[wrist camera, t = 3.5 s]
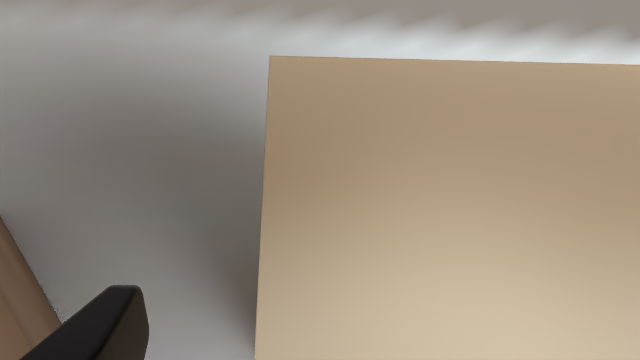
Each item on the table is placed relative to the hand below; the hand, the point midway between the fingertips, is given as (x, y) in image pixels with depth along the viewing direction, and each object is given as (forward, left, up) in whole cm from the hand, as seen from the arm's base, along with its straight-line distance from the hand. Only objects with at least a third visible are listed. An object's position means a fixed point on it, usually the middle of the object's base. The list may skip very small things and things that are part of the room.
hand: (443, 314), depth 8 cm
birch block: (0, 0, -8) cm, 9 cm away
